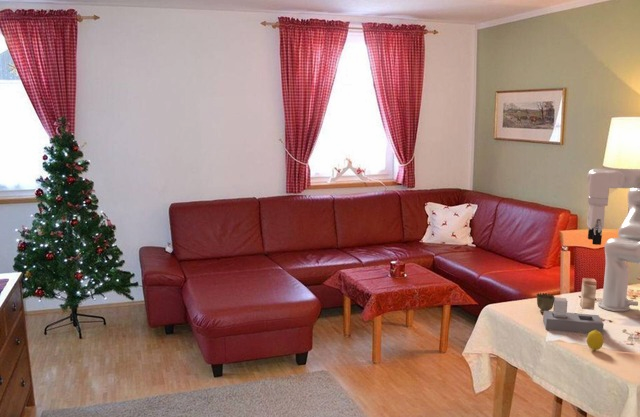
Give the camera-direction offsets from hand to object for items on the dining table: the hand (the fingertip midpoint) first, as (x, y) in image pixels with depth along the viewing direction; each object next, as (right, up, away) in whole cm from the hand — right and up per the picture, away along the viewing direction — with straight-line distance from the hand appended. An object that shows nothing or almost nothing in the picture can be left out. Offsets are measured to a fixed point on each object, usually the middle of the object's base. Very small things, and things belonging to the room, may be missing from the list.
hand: (594, 241), depth 244 cm
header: (-12, -35, -6) cm, 37 cm away
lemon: (-13, -39, -28) cm, 49 cm away
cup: (-16, -32, +12) cm, 38 cm away
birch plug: (-7, -26, -9) cm, 28 cm away
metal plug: (-17, -34, -5) cm, 39 cm away
